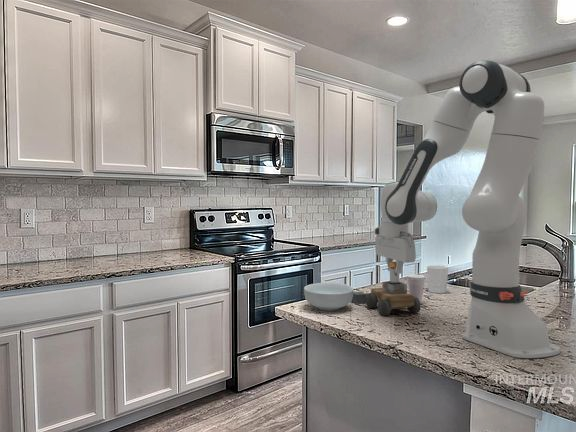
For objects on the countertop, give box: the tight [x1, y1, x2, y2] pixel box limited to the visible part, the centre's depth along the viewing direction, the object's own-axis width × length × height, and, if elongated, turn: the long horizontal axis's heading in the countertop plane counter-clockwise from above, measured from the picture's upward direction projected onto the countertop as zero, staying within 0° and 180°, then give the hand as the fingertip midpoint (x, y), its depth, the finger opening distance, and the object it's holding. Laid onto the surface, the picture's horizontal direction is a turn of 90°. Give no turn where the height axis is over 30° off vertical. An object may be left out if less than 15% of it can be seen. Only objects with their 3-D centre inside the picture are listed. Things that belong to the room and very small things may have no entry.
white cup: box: [426, 264, 449, 294], centre depth 160 cm, size 8×8×10 cm
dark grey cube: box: [351, 291, 367, 305], centre depth 144 cm, size 4×4×4 cm
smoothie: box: [406, 263, 426, 305], centre depth 143 cm, size 6×6×14 cm
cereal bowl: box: [303, 282, 354, 312], centre depth 137 cm, size 17×17×7 cm
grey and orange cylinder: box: [389, 261, 400, 285], centre depth 134 cm, size 3×3×10 cm
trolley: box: [365, 280, 422, 316], centre depth 134 cm, size 14×13×9 cm
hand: (394, 272), depth 134 cm, fingers closed on grey and orange cylinder, 3 cm apart
